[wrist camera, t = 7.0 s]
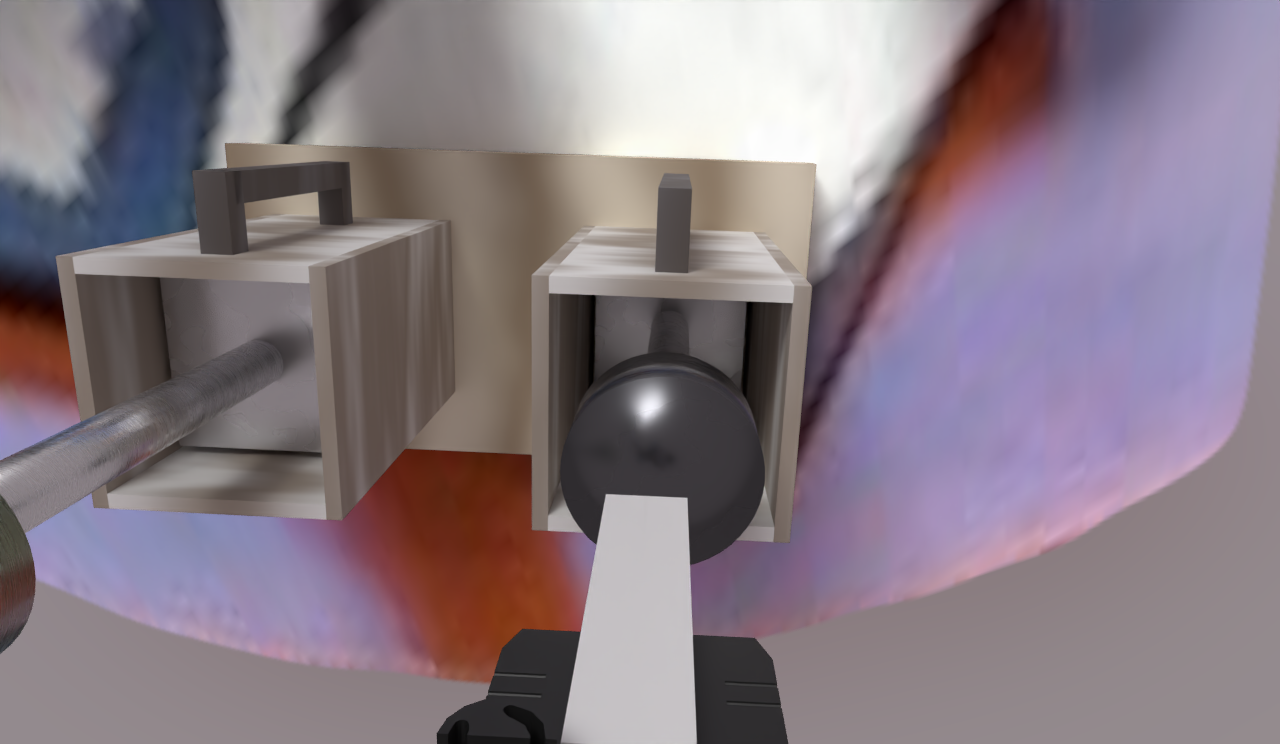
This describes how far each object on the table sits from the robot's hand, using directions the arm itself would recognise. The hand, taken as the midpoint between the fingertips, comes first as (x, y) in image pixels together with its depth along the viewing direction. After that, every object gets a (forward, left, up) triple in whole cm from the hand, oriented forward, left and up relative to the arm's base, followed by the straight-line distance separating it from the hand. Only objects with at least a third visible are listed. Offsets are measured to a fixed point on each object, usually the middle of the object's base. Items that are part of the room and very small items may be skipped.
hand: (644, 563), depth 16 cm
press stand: (-7, 0, -26) cm, 27 cm away
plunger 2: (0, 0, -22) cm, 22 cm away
